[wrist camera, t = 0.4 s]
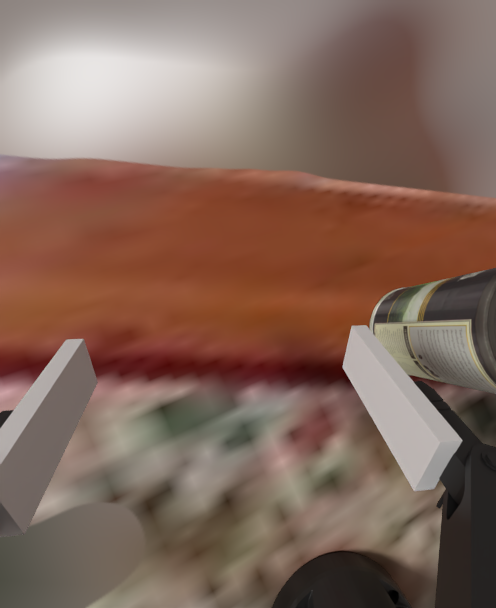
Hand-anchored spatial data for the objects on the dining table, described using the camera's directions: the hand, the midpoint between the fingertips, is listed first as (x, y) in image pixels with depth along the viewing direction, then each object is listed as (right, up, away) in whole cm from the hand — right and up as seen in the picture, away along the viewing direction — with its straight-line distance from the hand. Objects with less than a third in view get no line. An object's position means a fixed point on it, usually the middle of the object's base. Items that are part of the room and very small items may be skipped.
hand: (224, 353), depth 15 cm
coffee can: (+20, -1, +19) cm, 28 cm away
